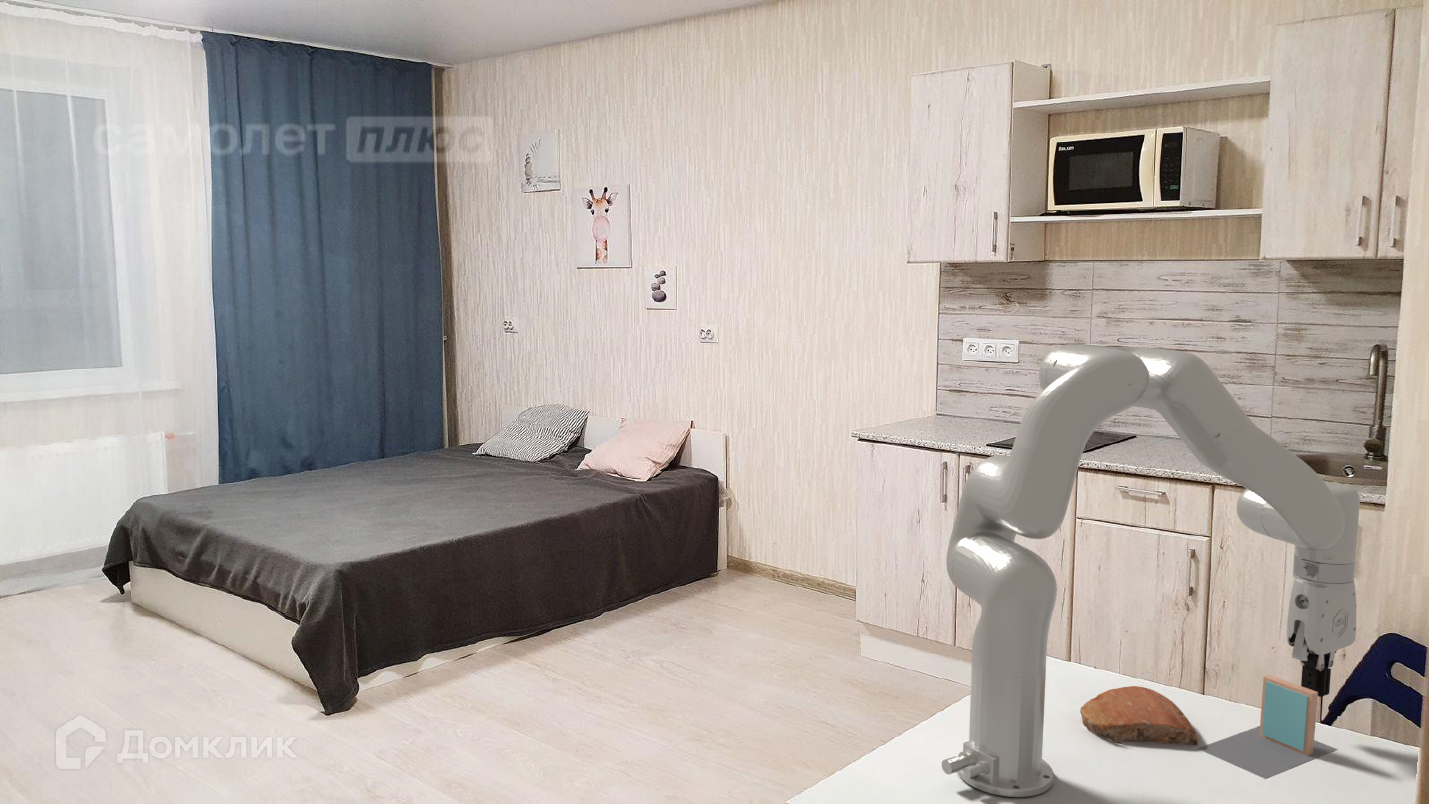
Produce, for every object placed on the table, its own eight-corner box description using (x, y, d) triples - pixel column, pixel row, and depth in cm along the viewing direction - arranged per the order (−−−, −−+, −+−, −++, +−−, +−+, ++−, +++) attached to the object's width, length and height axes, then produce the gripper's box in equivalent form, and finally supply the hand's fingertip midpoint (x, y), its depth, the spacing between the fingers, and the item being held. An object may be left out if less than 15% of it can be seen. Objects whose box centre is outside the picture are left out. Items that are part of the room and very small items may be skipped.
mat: (1265, 781, 136) (1265, 778, 136) (1197, 751, 145) (1197, 748, 145) (1337, 752, 145) (1337, 749, 145) (1269, 725, 153) (1269, 722, 153)
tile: (1306, 756, 143) (1311, 694, 141) (1258, 736, 149) (1262, 677, 148) (1313, 753, 143) (1317, 692, 142) (1265, 734, 149) (1269, 675, 148)
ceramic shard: (1066, 672, 160) (1162, 687, 160) (1060, 713, 160) (1155, 728, 160) (1100, 699, 146) (1205, 715, 145) (1093, 744, 146) (1198, 760, 145)
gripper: (1319, 585, 139) (1310, 713, 141) (1379, 568, 146) (1370, 690, 149) (1266, 571, 145) (1258, 694, 148) (1326, 556, 153) (1318, 673, 155)
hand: (1314, 692), depth 148 cm, fingers closed
